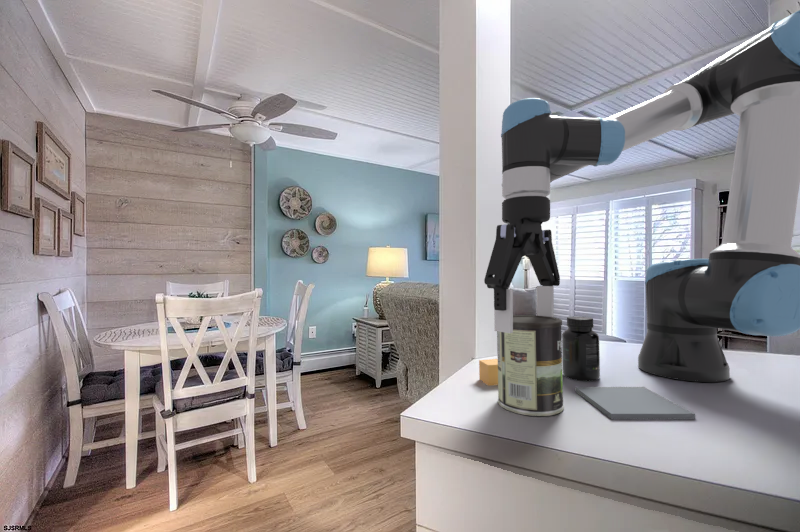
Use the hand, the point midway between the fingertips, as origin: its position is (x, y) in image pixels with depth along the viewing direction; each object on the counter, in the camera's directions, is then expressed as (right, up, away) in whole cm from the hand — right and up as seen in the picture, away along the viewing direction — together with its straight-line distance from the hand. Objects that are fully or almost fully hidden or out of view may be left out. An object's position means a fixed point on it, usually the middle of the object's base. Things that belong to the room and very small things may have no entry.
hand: (526, 327), depth 60 cm
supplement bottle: (+16, -13, +14) cm, 25 cm away
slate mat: (+17, -12, -1) cm, 21 cm away
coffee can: (+1, -13, 0) cm, 13 cm away
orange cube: (-2, -13, +12) cm, 18 cm away
